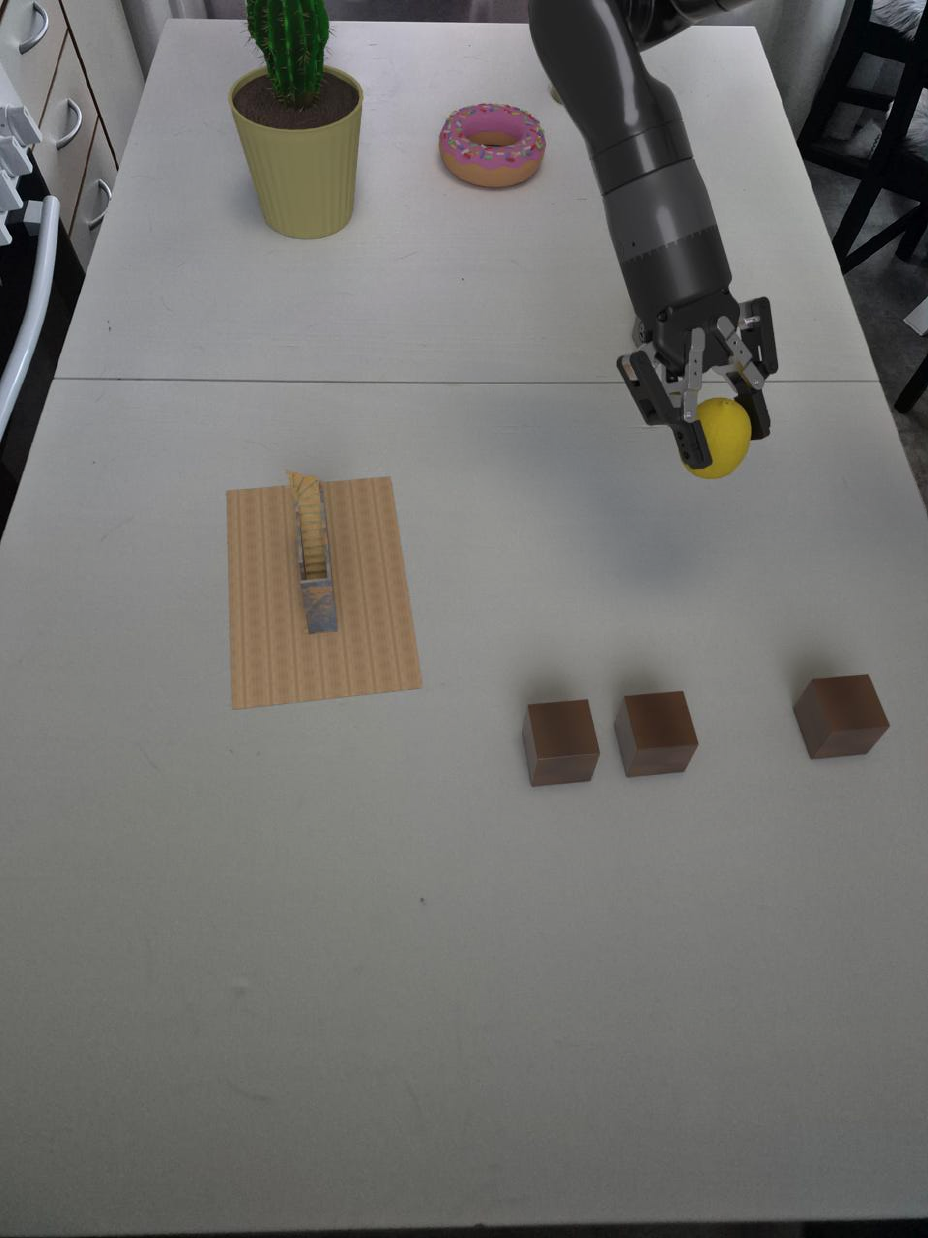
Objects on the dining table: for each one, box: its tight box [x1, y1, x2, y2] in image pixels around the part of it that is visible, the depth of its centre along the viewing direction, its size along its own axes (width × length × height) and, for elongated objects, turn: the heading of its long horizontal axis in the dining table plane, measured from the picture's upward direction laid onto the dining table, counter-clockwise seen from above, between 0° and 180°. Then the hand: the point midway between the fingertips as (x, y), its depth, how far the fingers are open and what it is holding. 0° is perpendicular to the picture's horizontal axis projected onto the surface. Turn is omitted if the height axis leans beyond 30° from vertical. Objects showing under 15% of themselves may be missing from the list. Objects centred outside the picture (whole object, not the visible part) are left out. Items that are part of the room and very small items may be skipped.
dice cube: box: [631, 315, 661, 364], centre depth 109 cm, size 5×5×5 cm
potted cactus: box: [227, 0, 365, 240], centre depth 110 cm, size 15×15×30 cm
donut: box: [438, 102, 547, 188], centre depth 129 cm, size 14×14×5 cm
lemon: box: [677, 397, 751, 480], centre depth 77 cm, size 6×6×8 cm
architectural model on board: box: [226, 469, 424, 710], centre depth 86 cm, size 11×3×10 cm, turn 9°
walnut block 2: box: [613, 690, 700, 778], centre depth 79 cm, size 5×5×5 cm
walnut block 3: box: [792, 673, 891, 760], centre depth 81 cm, size 5×5×5 cm
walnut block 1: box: [521, 698, 601, 788], centre depth 79 cm, size 5×5×5 cm
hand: (730, 451), depth 76 cm, fingers closed on lemon, 5 cm apart
